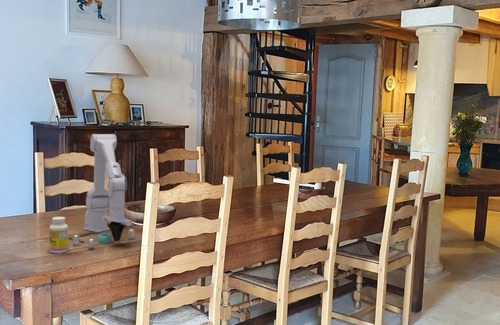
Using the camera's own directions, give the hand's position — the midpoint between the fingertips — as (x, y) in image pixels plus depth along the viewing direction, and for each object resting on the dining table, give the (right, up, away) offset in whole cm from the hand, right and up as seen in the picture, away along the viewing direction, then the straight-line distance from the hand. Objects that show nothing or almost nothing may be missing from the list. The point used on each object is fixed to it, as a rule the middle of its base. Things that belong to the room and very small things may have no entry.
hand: (116, 240), depth 213 cm
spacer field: (-6, -1, +4) cm, 7 cm away
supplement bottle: (-19, -3, -11) cm, 22 cm away
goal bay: (-14, 0, +9) cm, 17 cm away
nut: (-6, -1, +4) cm, 7 cm away
